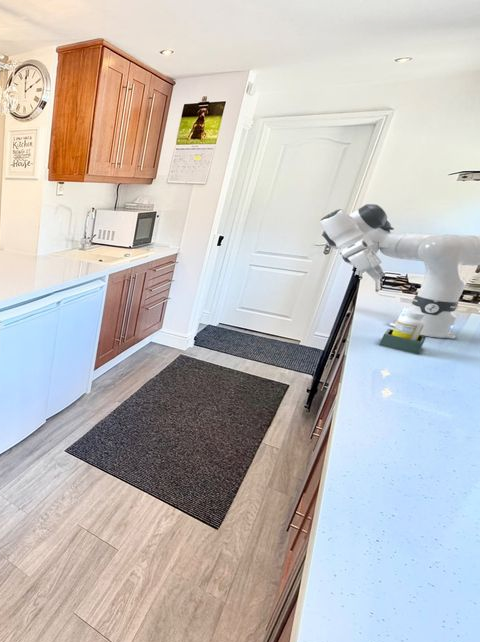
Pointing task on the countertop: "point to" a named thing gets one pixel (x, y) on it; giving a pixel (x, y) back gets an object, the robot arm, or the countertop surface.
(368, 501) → the countertop surface
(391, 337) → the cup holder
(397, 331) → the supplement bottle
